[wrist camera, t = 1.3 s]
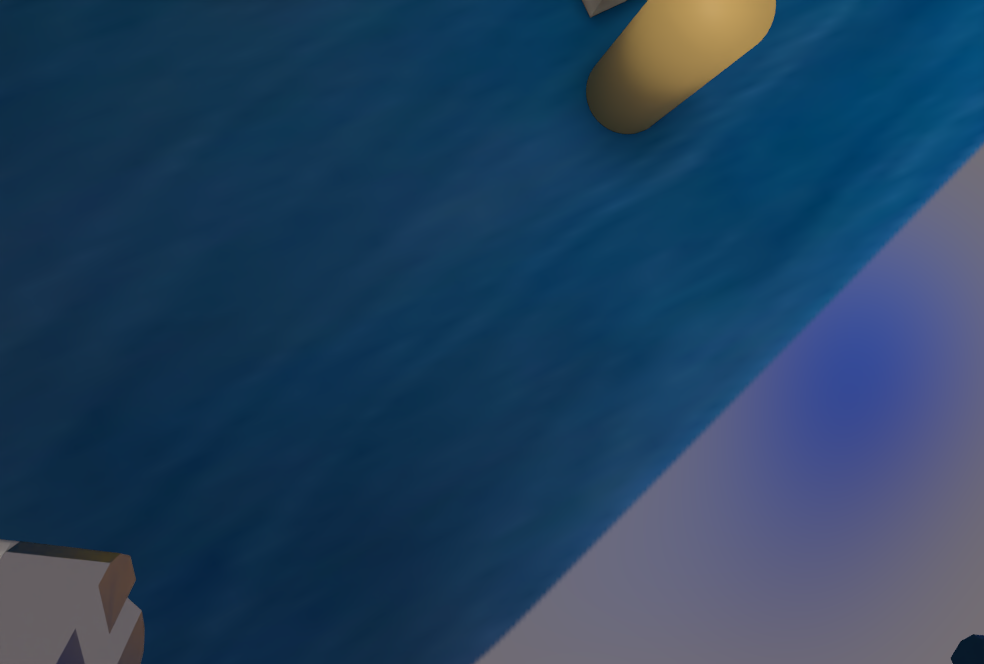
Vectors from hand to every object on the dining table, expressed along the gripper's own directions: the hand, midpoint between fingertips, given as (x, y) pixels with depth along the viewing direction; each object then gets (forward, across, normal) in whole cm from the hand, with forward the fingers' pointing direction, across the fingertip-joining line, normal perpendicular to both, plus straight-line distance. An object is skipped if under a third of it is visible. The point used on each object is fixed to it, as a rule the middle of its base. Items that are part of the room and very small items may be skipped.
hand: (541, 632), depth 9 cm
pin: (+37, -5, +6) cm, 38 cm away
